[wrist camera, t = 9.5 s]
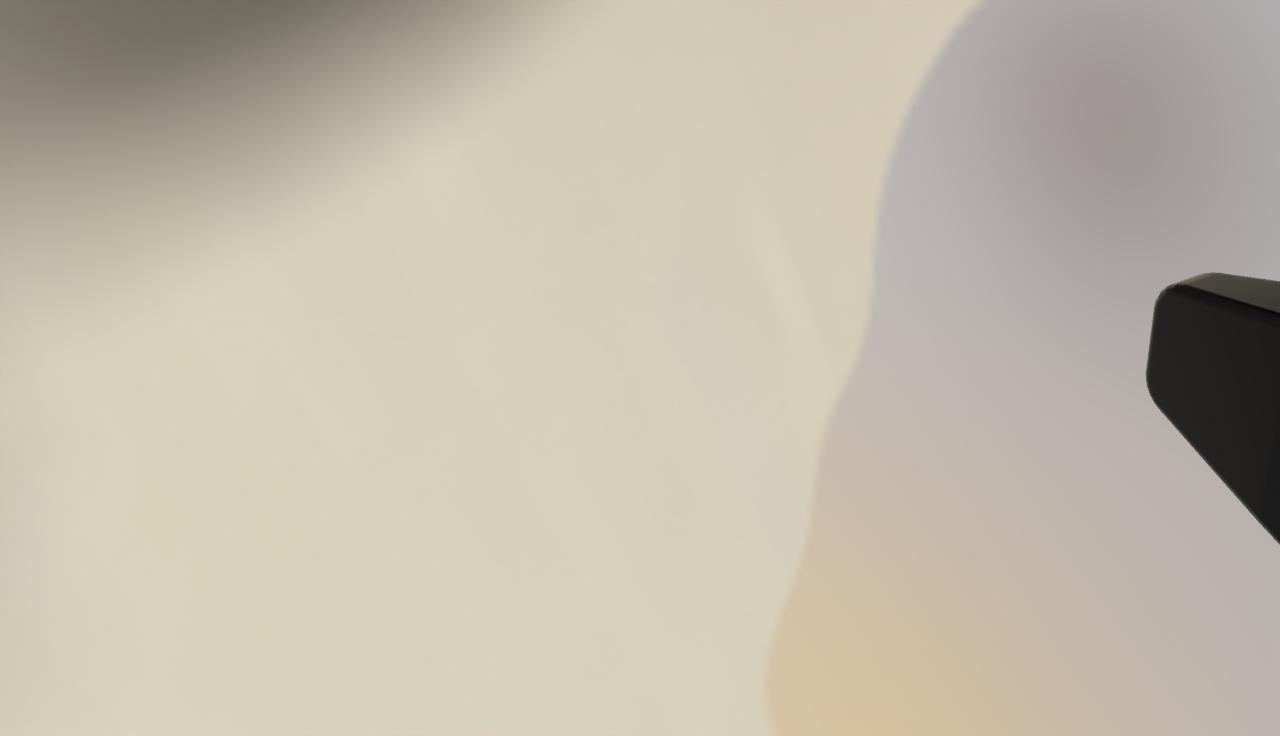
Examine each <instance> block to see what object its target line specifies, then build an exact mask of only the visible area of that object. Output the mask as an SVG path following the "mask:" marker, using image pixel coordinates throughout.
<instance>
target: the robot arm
mask: <svg viewBox="0 0 1280 736" xmlns="http://www.w3.org/2000/svg"><path fill="white" fill-rule="evenodd" d="M1146 382H1147V387H1148V390H1149V393H1150V396H1151V397H1152V399H1153V401H1154V403H1155V404H1156V406H1157V407H1158V408H1159V409H1160V410H1161V412H1162V413H1163V414H1164V415H1165V416H1166V417H1167V419H1168V420H1169V421H1170V422H1171V423H1172V424H1173V425H1174V426H1175V428H1176V429H1177V430H1178V431H1179V432H1180V433H1181V434H1182V436H1183V437H1184V438H1185V439H1186V440H1187V441H1188V442H1189V443H1190V445H1191V446H1192V447H1193V448H1194V449H1195V450H1196V451H1197V453H1198V454H1199V455H1200V456H1201V457H1202V458H1203V459H1204V461H1205V462H1206V463H1207V464H1208V465H1209V466H1210V467H1211V468H1212V470H1213V471H1214V472H1215V473H1216V474H1217V475H1218V476H1219V477H1220V479H1221V480H1222V481H1223V482H1224V483H1225V484H1226V486H1227V487H1228V488H1229V489H1230V490H1231V491H1232V492H1233V493H1234V495H1235V496H1236V497H1237V498H1238V499H1239V500H1240V501H1241V503H1242V504H1243V505H1244V506H1245V507H1246V508H1247V509H1248V511H1249V512H1250V513H1251V514H1252V515H1253V516H1254V517H1255V518H1256V520H1257V521H1258V522H1259V523H1260V524H1261V525H1262V526H1263V527H1264V528H1265V529H1266V530H1267V531H1268V533H1269V534H1270V535H1271V536H1272V537H1273V538H1274V539H1275V540H1276V541H1277V542H1278V543H1279V544H1280V281H1273V280H1266V279H1259V278H1251V277H1245V276H1237V275H1230V274H1223V273H1205V274H1201V275H1198V276H1195V277H1192V278H1189V279H1186V280H1183V281H1180V282H1177V283H1174V284H1172V285H1169V286H1168V287H1166V288H1165V289H1164V290H1162V291H1161V293H1160V295H1159V296H1158V298H1157V300H1156V302H1155V306H1154V313H1153V321H1152V329H1151V337H1150V344H1149V352H1148V360H1147V368H1146Z"/></svg>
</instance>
